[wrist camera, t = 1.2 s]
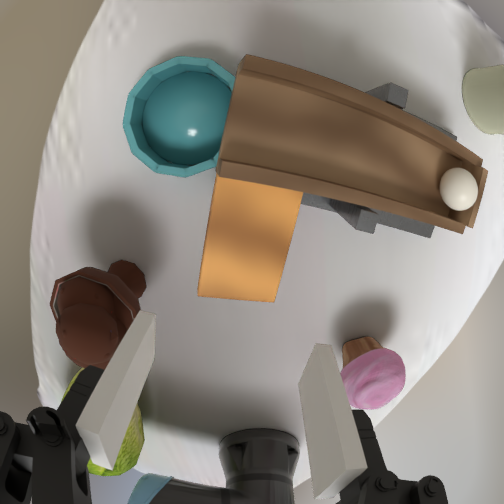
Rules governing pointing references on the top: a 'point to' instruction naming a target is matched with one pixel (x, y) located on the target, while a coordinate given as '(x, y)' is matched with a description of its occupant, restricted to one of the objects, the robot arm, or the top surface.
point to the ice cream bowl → (96, 311)
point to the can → (485, 98)
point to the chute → (314, 170)
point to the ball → (458, 189)
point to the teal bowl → (179, 115)
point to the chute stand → (366, 216)
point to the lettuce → (128, 448)
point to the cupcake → (371, 373)
